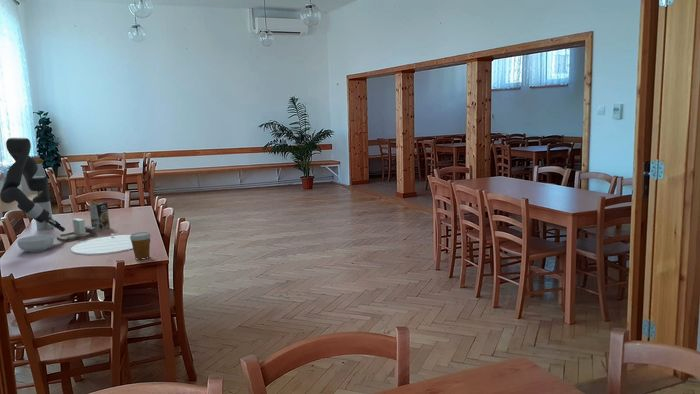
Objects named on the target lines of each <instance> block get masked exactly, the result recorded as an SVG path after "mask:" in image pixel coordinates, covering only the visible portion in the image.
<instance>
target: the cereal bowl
mask: <svg viewBox="0 0 700 394" xmlns="http://www.w3.org/2000/svg"><path fill="white" fill-rule="evenodd" d="M16 242H17V246H18V248H19V249H20V250H22V251H24V252H28V253H31V254H32V253H39V252H41V253H42V252H45V251H46V250H47V249H49V248H50V247H51V246H53V244H54V242H55V236H54V235H53V234H35V235H31V236H25V237H21V238H19V239H17V241H16Z"/></svg>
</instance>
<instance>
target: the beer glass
mask: <svg viewBox="0 0 700 394" xmlns="http://www.w3.org/2000/svg"><path fill="white" fill-rule="evenodd" d="M129 235H130V240H131V242H132V246H133V249H132V250H133V253H134V258H135V259H136V258H137V259H142V258H147V257H149V258H150V249H151V248H150V243H151V234H150V232H148V231H141V232H135V233H131V234H129Z"/></svg>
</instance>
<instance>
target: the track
mask: <svg viewBox="0 0 700 394" xmlns="http://www.w3.org/2000/svg"><path fill="white" fill-rule="evenodd" d="M85 231H86V233H85V234H79V235H78V234H75V233H74V231H71V232H70V231H69V232H67V233H61V234H60V235H59V236H56V240H58V241H60V242H63V243H66V242H71V241H77V240H82V239H87V238H91V237H97V236H98V234H97V231H96V228H94V227H92V226H89V225H85Z"/></svg>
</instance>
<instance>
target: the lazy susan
mask: <svg viewBox="0 0 700 394" xmlns="http://www.w3.org/2000/svg"><path fill="white" fill-rule="evenodd" d="M130 235H131V234H122V235H121V234H120V235H115V233H112V232H111V233H110V236H103V237H97V238H92V239H89V240H81V241H79V242H78V243H76V244H74V245H73V246H72V247H71V248H70V252H71V253H72V254H75V255H80V256H101V255H109V254H117V252H118V253H122V252H121V251H124V252H126V251H125V250H128V251H131V250H130V249H132V250H133V246H132V242H131V240H130Z"/></svg>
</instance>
